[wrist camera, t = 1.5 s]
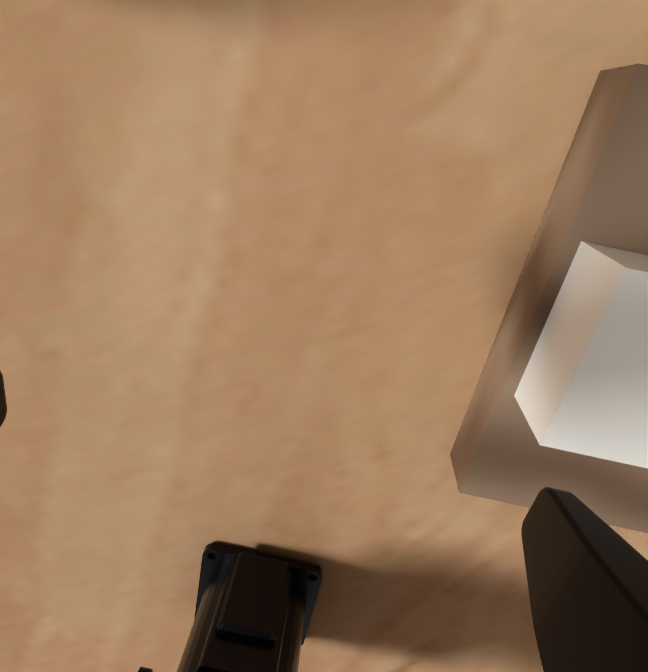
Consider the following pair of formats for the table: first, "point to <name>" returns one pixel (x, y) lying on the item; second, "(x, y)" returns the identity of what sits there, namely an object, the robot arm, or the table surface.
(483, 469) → the brown wooden board
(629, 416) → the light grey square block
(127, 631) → the table surface
